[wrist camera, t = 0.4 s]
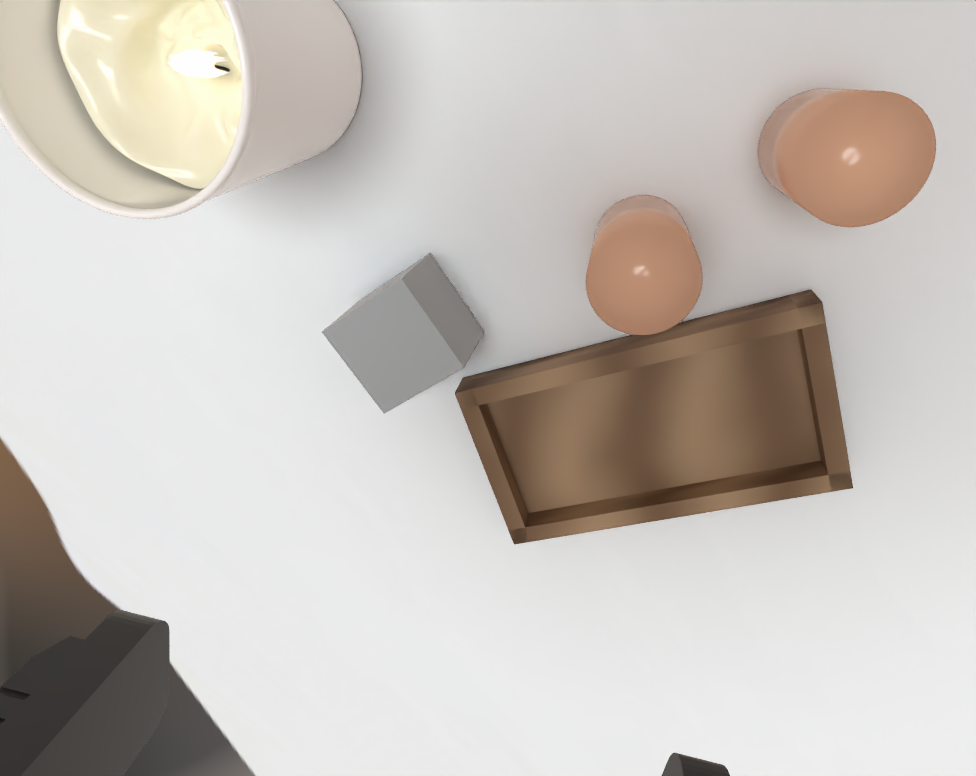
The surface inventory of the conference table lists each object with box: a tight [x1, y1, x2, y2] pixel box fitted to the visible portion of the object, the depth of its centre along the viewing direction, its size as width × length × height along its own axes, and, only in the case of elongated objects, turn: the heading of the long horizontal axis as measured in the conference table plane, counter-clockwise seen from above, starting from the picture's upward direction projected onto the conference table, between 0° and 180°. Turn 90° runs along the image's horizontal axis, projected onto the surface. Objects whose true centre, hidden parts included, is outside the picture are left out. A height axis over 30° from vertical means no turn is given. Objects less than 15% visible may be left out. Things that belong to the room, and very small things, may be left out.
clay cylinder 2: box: [758, 89, 936, 227], centre depth 26 cm, size 4×4×7 cm
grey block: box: [322, 253, 484, 413], centre depth 33 cm, size 5×5×5 cm
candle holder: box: [0, 0, 362, 219], centre depth 26 cm, size 10×10×12 cm
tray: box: [455, 290, 853, 544], centre depth 35 cm, size 18×10×2 cm, turn 109°
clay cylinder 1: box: [586, 195, 702, 335], centre depth 29 cm, size 4×4×7 cm
